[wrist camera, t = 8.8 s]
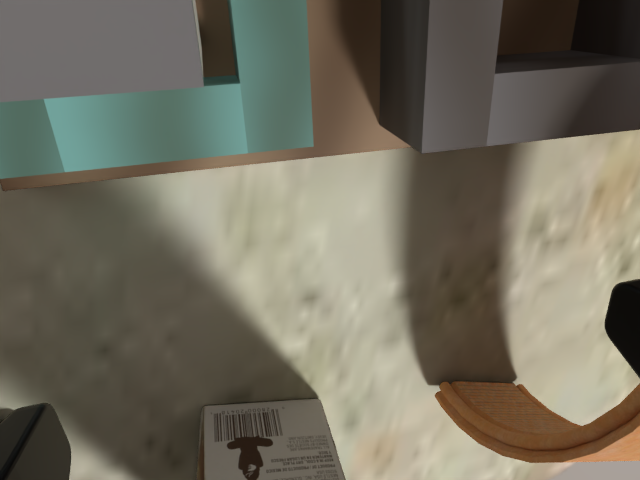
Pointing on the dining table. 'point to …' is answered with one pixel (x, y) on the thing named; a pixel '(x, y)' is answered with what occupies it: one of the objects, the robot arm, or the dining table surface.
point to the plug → (97, 47)
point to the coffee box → (267, 442)
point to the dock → (346, 88)
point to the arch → (540, 425)
